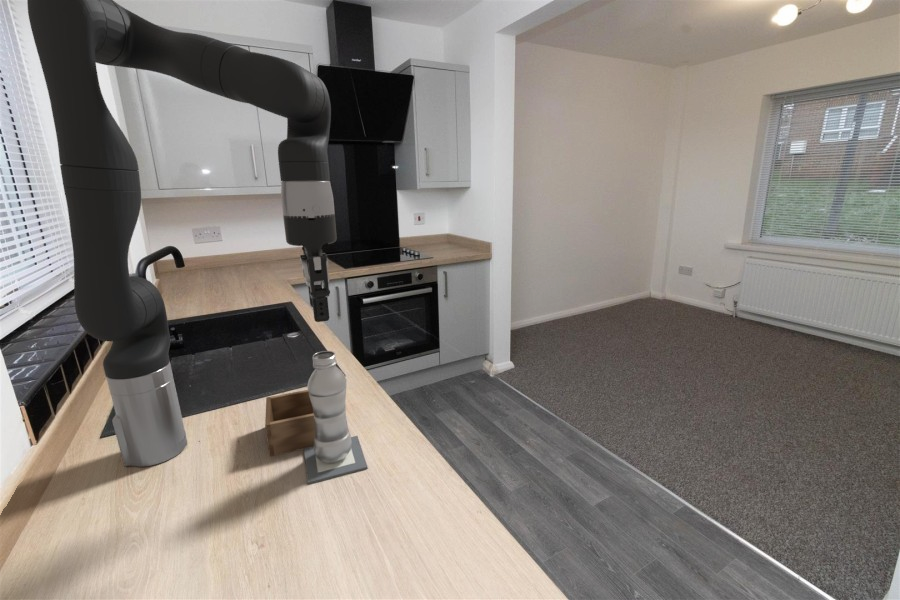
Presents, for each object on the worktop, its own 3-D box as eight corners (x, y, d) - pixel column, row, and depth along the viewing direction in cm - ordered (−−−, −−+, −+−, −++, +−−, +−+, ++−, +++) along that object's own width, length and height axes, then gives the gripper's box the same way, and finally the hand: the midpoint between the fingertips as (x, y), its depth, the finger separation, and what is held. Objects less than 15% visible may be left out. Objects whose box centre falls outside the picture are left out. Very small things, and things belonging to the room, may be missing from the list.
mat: (307, 484, 69) (307, 481, 68) (304, 449, 78) (303, 447, 77) (367, 468, 72) (367, 466, 72) (357, 437, 81) (357, 435, 81)
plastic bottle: (308, 456, 75) (295, 355, 69) (341, 440, 79) (332, 344, 74) (326, 473, 70) (313, 367, 65) (360, 455, 75) (351, 354, 69)
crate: (269, 456, 76) (265, 425, 74) (270, 425, 86) (266, 397, 84) (331, 442, 80) (328, 412, 78) (325, 413, 90) (322, 387, 88)
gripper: (282, 210, 68) (293, 304, 72) (283, 216, 55) (297, 330, 59) (329, 208, 70) (337, 299, 75) (340, 214, 58) (349, 323, 62)
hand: (319, 313), depth 67 cm, fingers open, 8 cm apart
